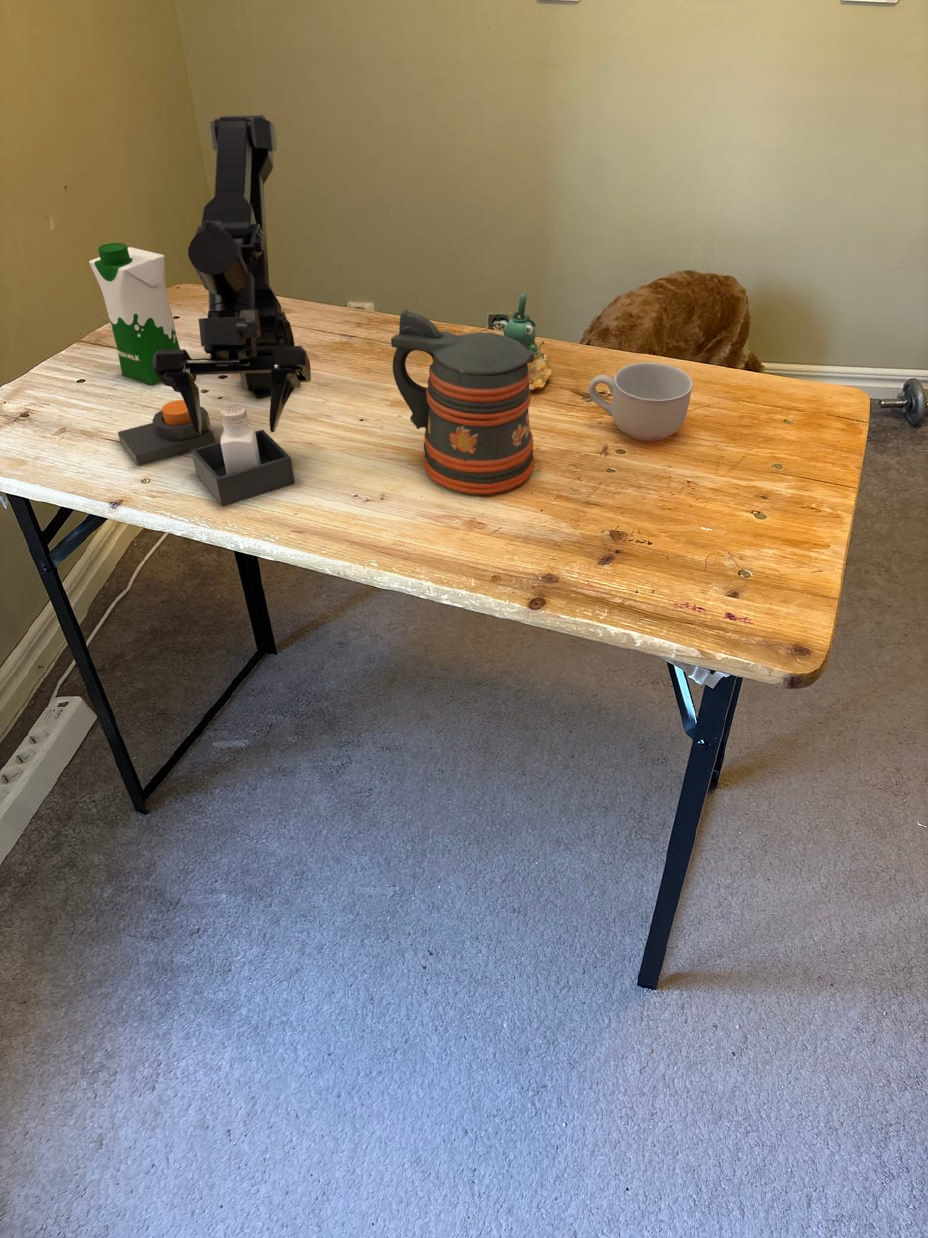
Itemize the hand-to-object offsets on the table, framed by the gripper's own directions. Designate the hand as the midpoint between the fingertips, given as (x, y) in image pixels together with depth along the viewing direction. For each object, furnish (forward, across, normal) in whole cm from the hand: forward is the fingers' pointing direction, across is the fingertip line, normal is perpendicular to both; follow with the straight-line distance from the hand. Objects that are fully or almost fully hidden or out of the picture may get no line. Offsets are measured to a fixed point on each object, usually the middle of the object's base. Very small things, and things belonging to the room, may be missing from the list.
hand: (235, 432), depth 114 cm
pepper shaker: (+4, 0, +6) cm, 7 cm away
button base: (-3, -12, +14) cm, 18 cm away
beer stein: (+4, +29, +7) cm, 30 cm away
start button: (-6, -10, +12) cm, 17 cm away
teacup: (-2, +54, +13) cm, 55 cm away
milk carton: (-20, -19, +31) cm, 41 cm away
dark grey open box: (+5, 0, +6) cm, 7 cm away
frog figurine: (-14, +39, +25) cm, 49 cm away
